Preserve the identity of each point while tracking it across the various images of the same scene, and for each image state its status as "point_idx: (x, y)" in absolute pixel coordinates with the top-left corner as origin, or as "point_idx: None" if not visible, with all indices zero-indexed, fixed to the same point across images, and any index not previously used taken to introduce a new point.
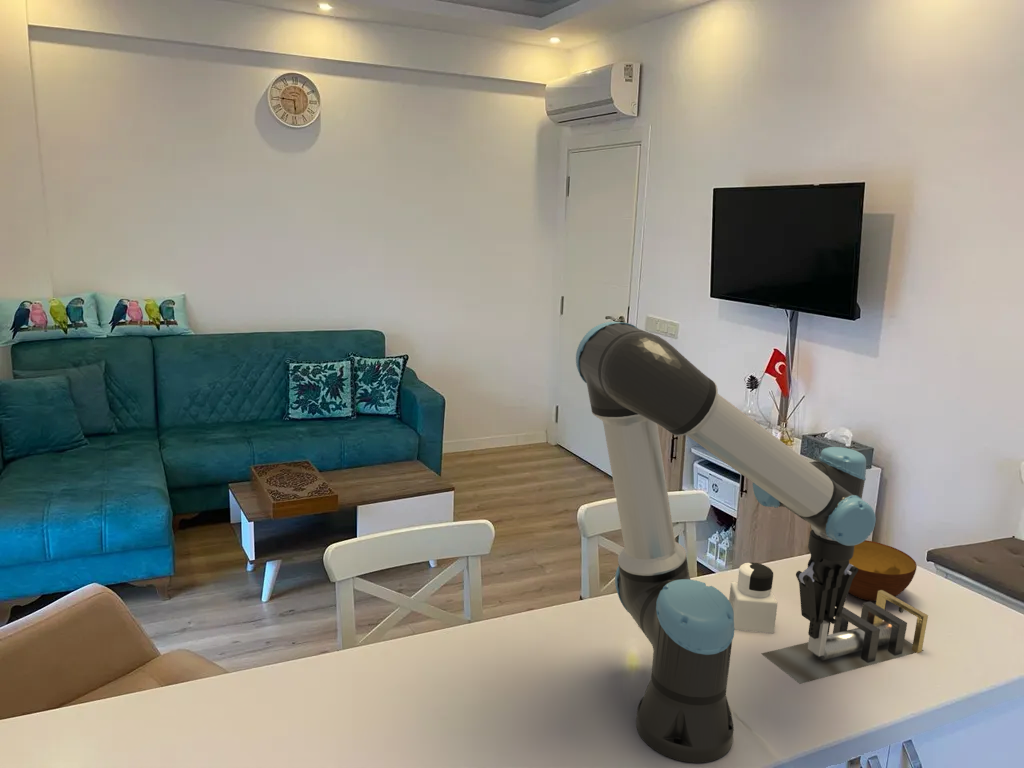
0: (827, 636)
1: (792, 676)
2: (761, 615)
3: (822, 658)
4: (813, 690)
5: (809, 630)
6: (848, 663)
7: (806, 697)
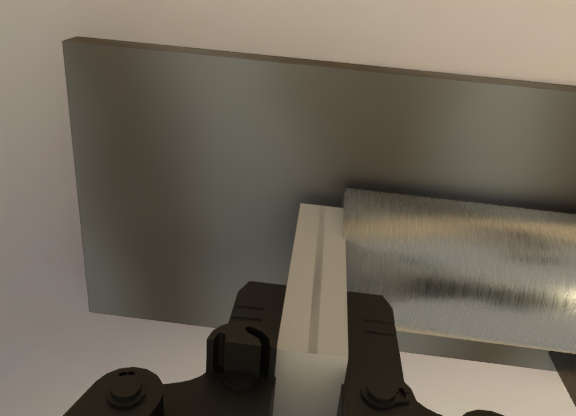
0: (427, 287)
1: (95, 263)
2: None
3: None
4: (155, 325)
5: (234, 311)
6: None
7: (93, 339)
